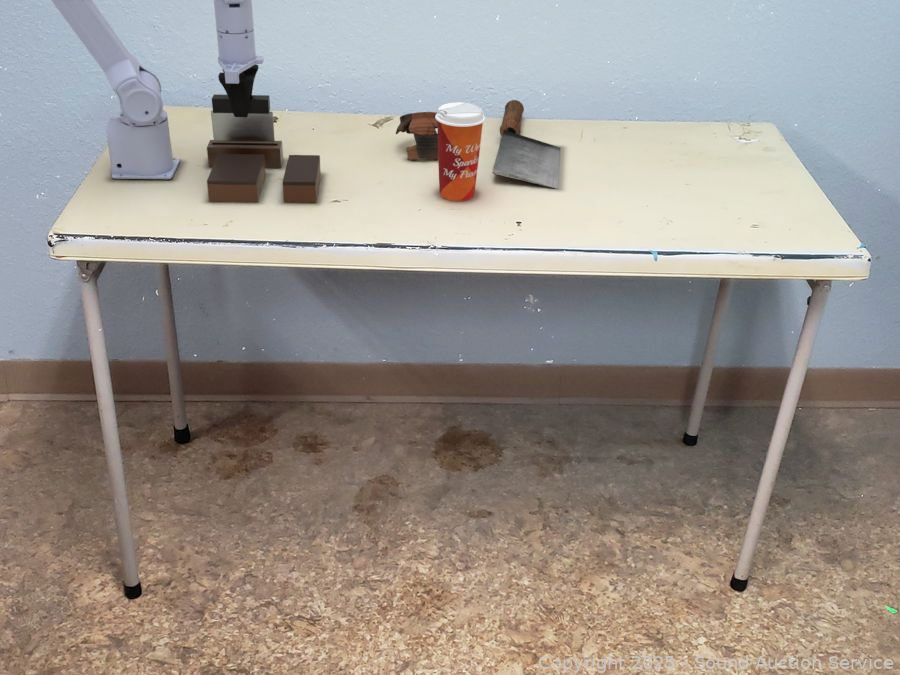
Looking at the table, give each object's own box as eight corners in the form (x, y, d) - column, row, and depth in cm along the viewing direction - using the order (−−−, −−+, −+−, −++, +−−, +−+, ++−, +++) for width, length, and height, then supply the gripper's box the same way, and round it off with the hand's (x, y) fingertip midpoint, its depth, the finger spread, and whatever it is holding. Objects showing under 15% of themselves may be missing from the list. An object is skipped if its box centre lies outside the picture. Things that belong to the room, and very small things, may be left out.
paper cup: (446, 207, 149) (449, 120, 141) (424, 188, 154) (426, 104, 147) (490, 199, 152) (495, 114, 144) (467, 181, 158) (471, 98, 150)
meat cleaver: (558, 188, 156) (561, 165, 154) (489, 183, 157) (491, 160, 155) (561, 121, 185) (563, 101, 183) (503, 117, 186) (505, 97, 184)
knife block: (208, 167, 159) (206, 147, 157) (212, 159, 162) (210, 139, 160) (281, 168, 160) (280, 148, 158) (283, 160, 163) (282, 140, 161)
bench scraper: (212, 143, 157) (208, 98, 153) (215, 138, 159) (210, 94, 155) (274, 144, 158) (271, 99, 154) (275, 139, 160) (272, 95, 156)
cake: (209, 201, 147) (206, 180, 146) (219, 173, 157) (217, 153, 155) (258, 202, 148) (256, 181, 146) (265, 174, 157) (264, 154, 155)
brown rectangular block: (283, 202, 148) (282, 181, 146) (290, 174, 157) (289, 154, 156) (316, 202, 148) (315, 181, 147) (320, 175, 158) (319, 155, 156)
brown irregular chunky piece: (390, 162, 165) (386, 114, 164) (410, 168, 174) (406, 122, 173) (456, 154, 161) (452, 104, 160) (473, 160, 170) (469, 113, 169)
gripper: (255, 42, 143) (261, 129, 150) (266, 18, 155) (271, 99, 162) (207, 41, 142) (216, 128, 150) (222, 17, 155) (229, 98, 162)
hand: (242, 113), depth 156 cm, fingers closed on bench scraper, 2 cm apart
